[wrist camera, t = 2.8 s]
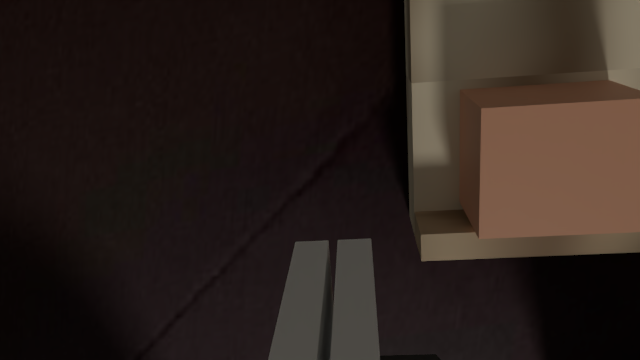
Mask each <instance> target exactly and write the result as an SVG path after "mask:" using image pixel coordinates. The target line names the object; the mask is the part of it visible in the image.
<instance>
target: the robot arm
mask: <svg viewBox="0 0 640 360" xmlns="http://www.w3.org/2000/svg"><path fill="white" fill-rule="evenodd" d="M268 360H440V359H439V357H438V356H437V355H436V354H430V355H394V356H380V353H379V339H378V326H377V312H376V299H375V285H374V272H373V258H372V245H371V239H351V240H338V244H337V261H336V277H335V293H334V307H333V294H332V280H331V267H330V254H329V241H305V242H295V247H294V251H293V255H292V259H291V264H290V268H289V272H288V277H287V281H286V285H285V290H284V294H283V298H282V302H281V307H280V311H279V315H278V320H277V324H276V328H275V333H274V337H273V341H272V345H271V350H270V354H269V358H268Z"/></svg>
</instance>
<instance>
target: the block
mask: <svg viewBox="0 0 640 360" xmlns="http://www.w3.org/2000/svg"><path fill="white" fill-rule="evenodd" d="M459 202H460V204H461V206H462V207H463V209H464V211H465V213H466V215H467V217H468V219H469V221H470V223H471V225H472V227H473V229H474V231H475V233H476V235H477V237H478V238H479V239H494V238H517V237H540V236H563V235H586V234H609V233H632V232H640V90H637V89H634V88H631V87H628V86H625V85H622V84H619V83H616V82H613V81H610V80H601V81H586V82H570V83H555V84H539V85H524V86H508V87H493V88H477V89H462V90H460V174H459Z"/></svg>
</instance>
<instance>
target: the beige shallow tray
mask: <svg viewBox="0 0 640 360" xmlns="http://www.w3.org/2000/svg"><path fill="white" fill-rule="evenodd" d="M404 13H405V53H406V93H407V134H408V174H409V214H410V219H411V223H412V227H413V231H414V235H415V239H416V242H417V246H418V250H419V254H420V258H421V261H437V260H461V259H486V258H510V257H535V256H560V255H584V254H609V253H633V252H640V232H632V233H609V234H586V235H563V236H540V237H517V238H494V239H479V238H478V237H477V235H476V233H475V231H474V229H473V227H472V225H471V223H470V221H469V219H468V217H467V215H466V213H465V211H464V209H463V207H462V206H461V204H460V202H459V174H460V90H462V89H477V88H493V87H508V86H524V85H539V84H555V83H570V82H586V81H601V80H610V81H613V82H616V83H619V84H622V85H625V86H628V87H631V88H634V89H637V90H640V0H404Z"/></svg>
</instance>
